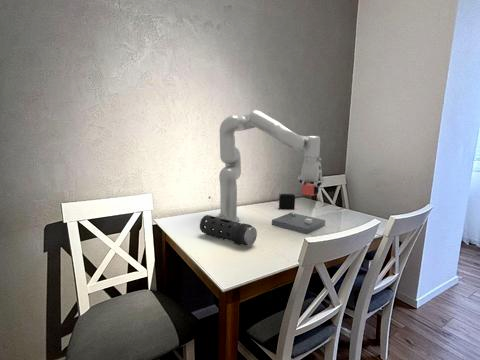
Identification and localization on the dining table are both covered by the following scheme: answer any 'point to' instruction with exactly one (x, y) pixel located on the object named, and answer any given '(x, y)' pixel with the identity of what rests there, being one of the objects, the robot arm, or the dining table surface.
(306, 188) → the red block
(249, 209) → the dining table surface
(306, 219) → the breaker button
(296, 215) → the board
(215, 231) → the muzzle brake
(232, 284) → the dining table surface
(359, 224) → the dining table surface
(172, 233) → the dining table surface
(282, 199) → the electronic device
